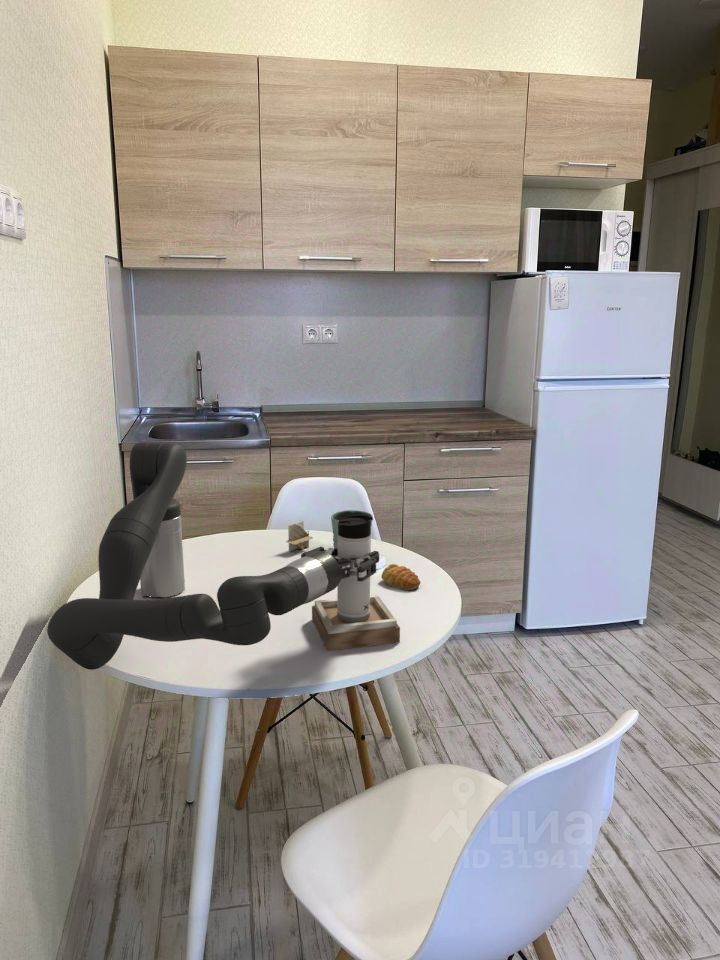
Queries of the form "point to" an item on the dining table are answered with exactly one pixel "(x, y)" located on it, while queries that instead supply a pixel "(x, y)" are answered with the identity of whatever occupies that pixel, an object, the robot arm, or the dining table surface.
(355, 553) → the travel mug
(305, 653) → the dining table surface
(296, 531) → the architectural model
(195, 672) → the dining table surface
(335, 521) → the green cup
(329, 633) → the square wooden tray
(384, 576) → the pastry
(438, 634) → the dining table surface
